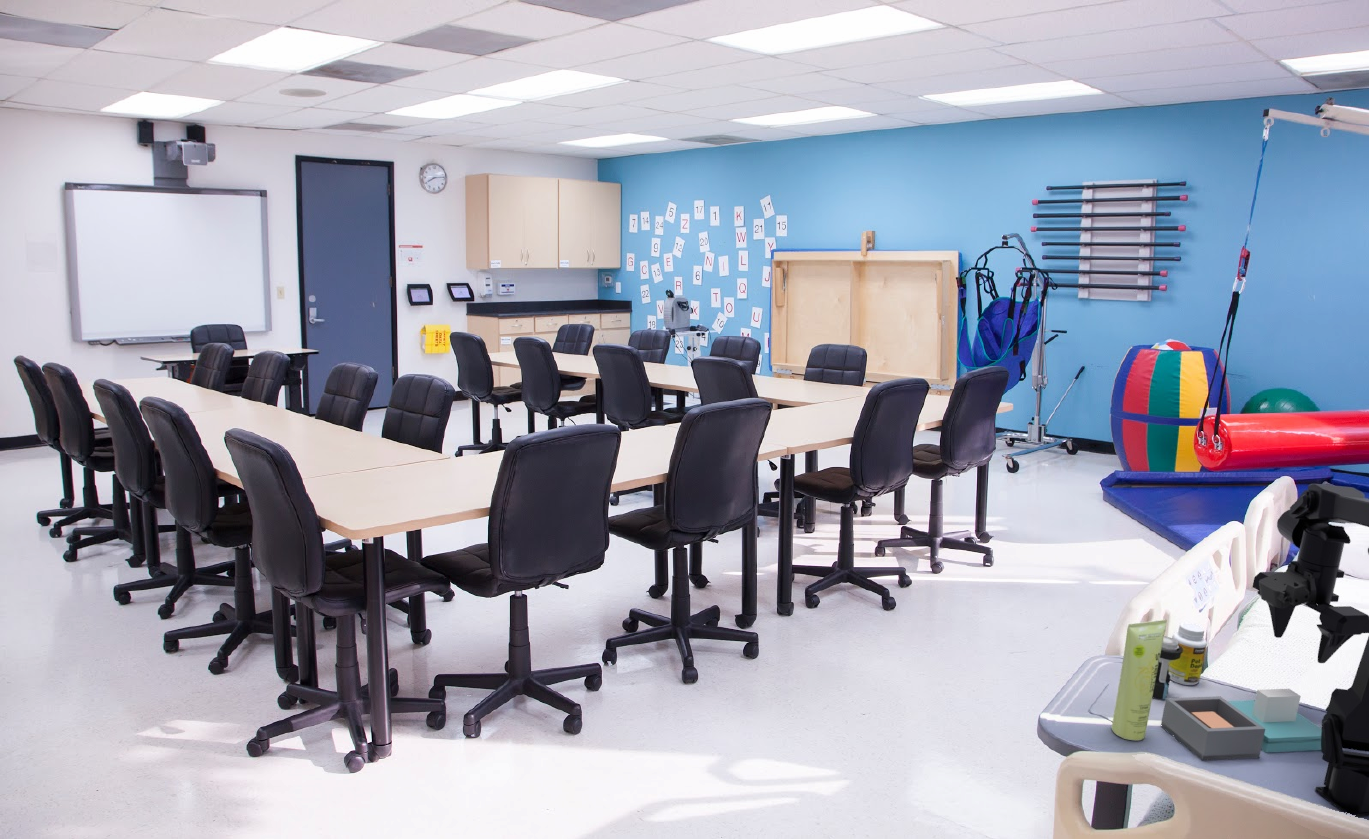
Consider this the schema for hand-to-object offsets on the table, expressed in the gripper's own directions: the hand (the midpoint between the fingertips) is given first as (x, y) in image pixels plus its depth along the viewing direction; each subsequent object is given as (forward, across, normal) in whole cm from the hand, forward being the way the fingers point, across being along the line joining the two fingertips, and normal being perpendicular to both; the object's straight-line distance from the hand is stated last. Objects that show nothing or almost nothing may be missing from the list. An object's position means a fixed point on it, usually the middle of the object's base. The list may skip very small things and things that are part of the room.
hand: (1298, 649), depth 162 cm
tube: (+13, +2, -30) cm, 33 cm away
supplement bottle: (+13, -15, -8) cm, 22 cm away
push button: (+13, -11, -16) cm, 23 cm away
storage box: (+13, +5, -18) cm, 23 cm away
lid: (+13, +3, -5) cm, 14 cm away
